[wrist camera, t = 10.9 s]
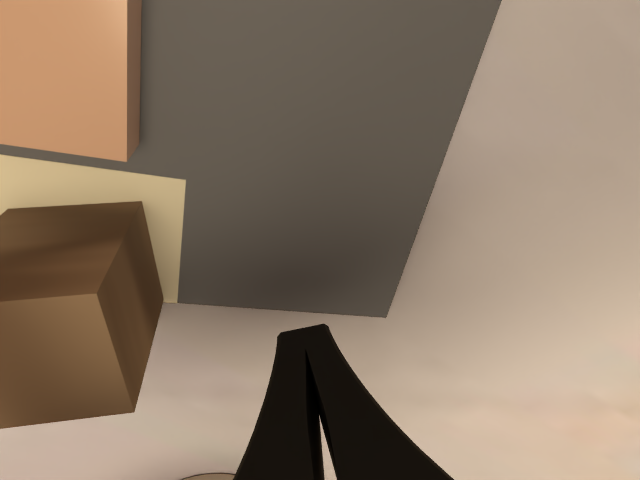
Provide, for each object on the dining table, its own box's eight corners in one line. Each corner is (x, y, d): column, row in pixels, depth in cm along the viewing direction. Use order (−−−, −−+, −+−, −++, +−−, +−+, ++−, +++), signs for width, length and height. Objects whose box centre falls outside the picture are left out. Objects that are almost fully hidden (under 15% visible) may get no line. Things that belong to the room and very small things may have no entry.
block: (141, 200, 14) (96, 293, 9) (163, 299, 16) (134, 412, 11) (7, 208, 13) (-106, 310, 9) (48, 309, 15) (-29, 432, 11)
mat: (617, -345, 10) (632, -359, 9) (383, 311, 18) (386, 318, 18) (-778, -1119, 5) (-861, -1208, 4) (-197, 268, 14) (-210, 276, 13)
